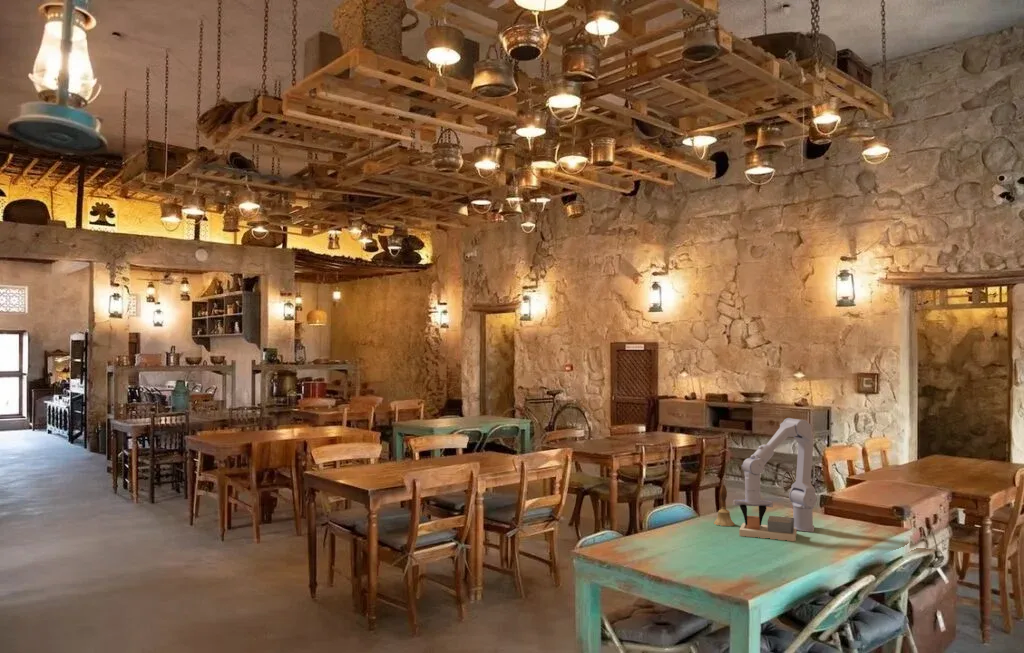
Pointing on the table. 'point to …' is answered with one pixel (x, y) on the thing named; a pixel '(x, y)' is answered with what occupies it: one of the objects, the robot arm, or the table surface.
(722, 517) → the hand bell
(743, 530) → the board
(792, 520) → the cover
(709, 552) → the table surface
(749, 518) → the block
